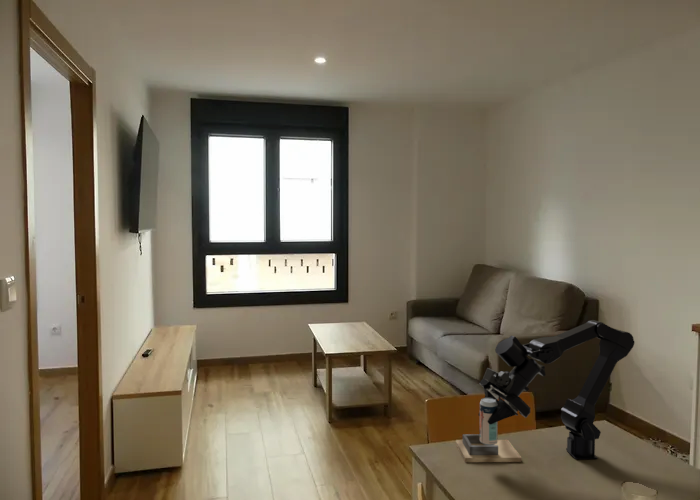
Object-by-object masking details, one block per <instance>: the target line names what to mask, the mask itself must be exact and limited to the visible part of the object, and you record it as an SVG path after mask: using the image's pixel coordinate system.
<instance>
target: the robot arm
mask: <svg viewBox="0 0 700 500" xmlns="http://www.w3.org/2000/svg"><path fill="white" fill-rule="evenodd" d="M595 338H597V339H599V343H598V344H599V347H598V348H599V353H598V354H599V355H598V357H597V358H596V361H595V362H594V364H593V366H592V367H591V370H590V372H589V374H588V376H587V377H586V380H585V382H584V384H583V385H582V388H581V389H580V392H579V393H578V395H577V397H575V398H573V399H570V398H567V399H566V400H565V402H564V405H563V406H562V408H561V409H560V411H561V413H560V418H561V422H562V423H563V424H564V426H565V429H566V430H568V437H567V440H566V442H567V443H566V448H565V450H566V452H568V454H570V455H571V456H572V458H574V460H598V456H597V455H596V454H595V452H596V440H599V439H600V436H601V433H602V432H601V430H600V429H599V428H598V427H597V426H596V425H595V424H594V422H595V420H596V419H595V418H596V409H595V408H596V403H597V402H598V400H599V398H600V396H601V395H602V393H603V391H604V388H605V387H606V385H607V384H608V383H607V382H608V381H609V379H610V376H611V375H612V373H613V371H614V369H615V367H616V366H617V363H618V362H620V361H621V360H622V359H624V358H626V357H628V355H629V354H630V352H631V351H632V350H633V348H634V345H635V343H636V342H635V340H634V336H633V335H632V334H631V333H630V332H629V331H625V330H621V329H617V328H613V327H611V326H609V325H607V324H606V323H604V322H602V321H598V320H594V319H592V320H588V321H587V322H585V323H583V324H580V325H578V326H576V327H573V328H571V329H569V330H567V331H564V332H562V333H560V334H557V335H555V336H554V335H553V336H544V337H539V338H538V337H537V338H534V339H532V340H530V342H529V343H524V344H522V343H521V342H520V340H519V339H518V338H517V337H516V336H514V335H509V337H507V338H505V339H502V340H501V341H500V342H498V343H497V345H496V346H495V349H494V350H495V353H496V354H497V356H499V357H500V358H501V359H502V360H503V362H505V363H506V364H507V365H508V366H509V367H511V368H512V367H513V368H512V369H511V370H510V371H508V370H506V371H504V370H503V371H502V370H501V371H496V370H494V369H492V368H489V367H487V368H486V370H485V373H484V375H483V377H482V379H481V380H480V381H479V382H478V384H479V385H480V386H481V387H482V388H483V392H484V398H492V399H495V400H496V402H497V404H498V407H497V408H496V409H495V411H494V412H493V414H492V415H491V416H490V418H489V420H488V423H489V424H490V425H491V424H493V423H495V422H498V423H499V422H501V421H502V420H505V419H508V418H510V417H513V416H519V414H520V415H521V416H522V417H524V418H525V419H527V418H528V416H529V415H530V414H531V407H530V405H528V404H527V403H526V402H525V401H524V400H523V399H522V398H521V397H520V395H521V394H522V393H523V392H524V391H525V392H528V391H529V390H530V388H529V387H528V386H529V384H530V383H531V382H532V381H533V380H534V379H535V378H536V376H537V375H540V376H542V377H546V371H545V370H546V369H545V367H546V366H545V365H542V364H539V363H538V362H541V363H543V364H546V365H547V364H548V365H549V364H551V363H554V362H555V361H556V360H558V359H559V358H561V356H562V355H563V354H564V352H566V351H567V350H570V349H572V348H574V347H576V346H579V345H582V344H584V343H586V342H588V341H591V340H593V339H595ZM528 356H529V357H531V358H529V357H528ZM518 412H519V414H518ZM478 416H479V417H480V411H479V412H478Z"/></svg>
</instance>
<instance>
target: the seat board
mask: <svg viewBox="0 0 700 500" xmlns="http://www.w3.org/2000/svg"><path fill="white" fill-rule="evenodd" d="M455 445H456V448H457V449H458V452H459V453H460V455H461V458H462V459H463V461H464V462H465V463H521V462H522V456H521V455H520V453H519V452H518V450H516V448H515V447H514V446H513V445H512V443H511V442H510V441H509V439H498V442H497V444H495V445H491V446H489V445H484V444H483V443H481V442H480V433H479V434H478V433H477V434H475V433H471V434H470V433H468V434H465V433H464V434H462V439H456V440H455Z"/></svg>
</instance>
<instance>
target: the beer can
mask: <svg viewBox="0 0 700 500" xmlns="http://www.w3.org/2000/svg"><path fill="white" fill-rule="evenodd" d="M497 407H498V404H497V402H496V400H495V399H492V398H485V397H483V398H481V399H480V402H479V412H480V416H479V434H480V442H481V443H483V444H484V445H489V446H491V445H495V444H497V442H498V440H499V439H498V438H499V436H498V433H499V432H498V428H499V427H498V426H499V425H498V423H499V421H498V422H495V423H493V424H491V425H490V424H489V423H488V420H489V418H490V416H491V415H492V414H493V412H494V411H495V409H496V408H497Z"/></svg>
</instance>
